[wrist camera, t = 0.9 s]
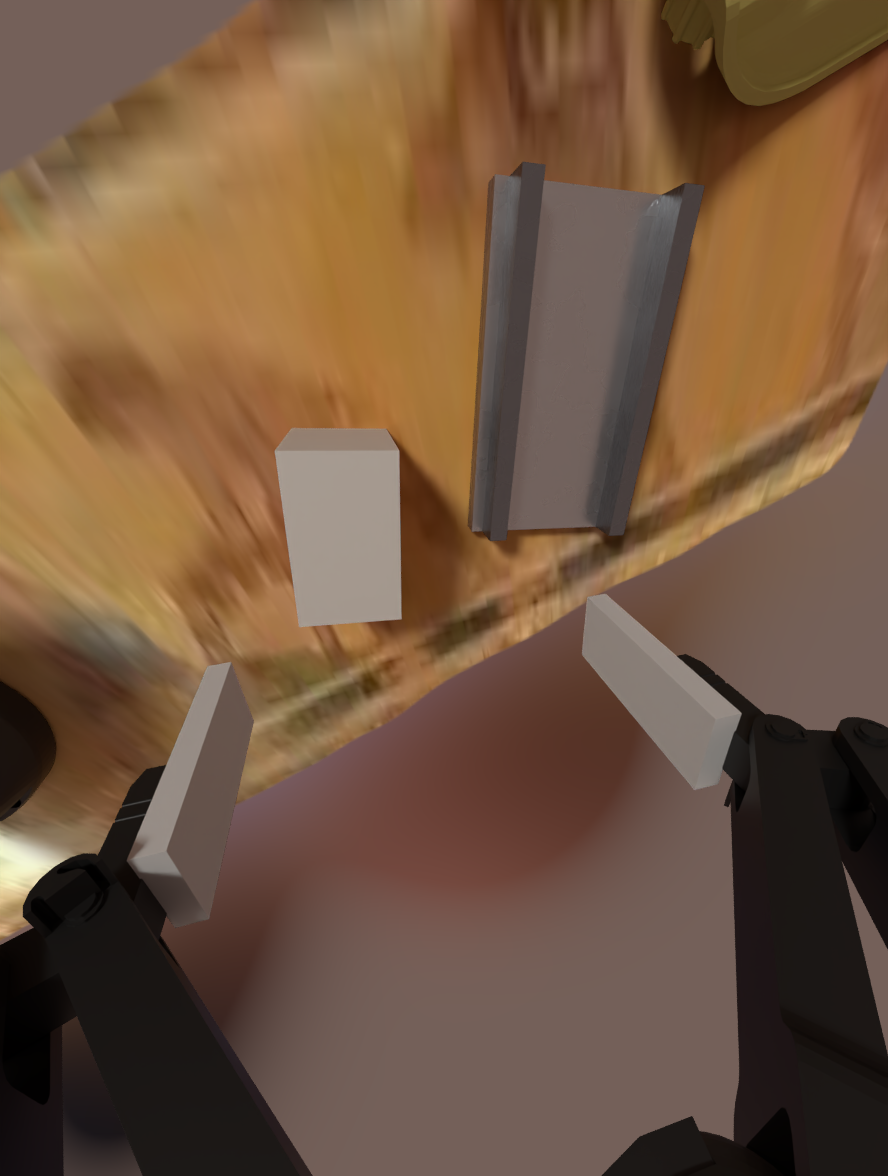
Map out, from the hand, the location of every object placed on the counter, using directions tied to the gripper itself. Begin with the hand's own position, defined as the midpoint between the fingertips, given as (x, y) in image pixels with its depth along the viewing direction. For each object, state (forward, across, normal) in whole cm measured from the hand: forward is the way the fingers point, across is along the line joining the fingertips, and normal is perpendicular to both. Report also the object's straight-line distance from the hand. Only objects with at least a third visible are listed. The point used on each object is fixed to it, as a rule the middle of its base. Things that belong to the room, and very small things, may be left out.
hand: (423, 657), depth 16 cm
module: (+18, -2, +1) cm, 18 cm away
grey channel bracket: (+18, +13, +7) cm, 23 cm away
